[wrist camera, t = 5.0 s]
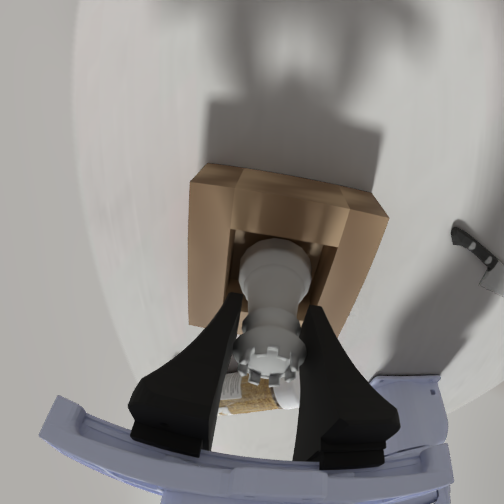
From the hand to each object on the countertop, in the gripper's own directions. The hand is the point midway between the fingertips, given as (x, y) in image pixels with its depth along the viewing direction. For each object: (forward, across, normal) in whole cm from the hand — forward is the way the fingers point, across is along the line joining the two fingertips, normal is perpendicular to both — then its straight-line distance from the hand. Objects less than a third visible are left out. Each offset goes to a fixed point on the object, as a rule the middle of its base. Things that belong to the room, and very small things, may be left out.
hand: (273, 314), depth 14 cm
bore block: (+6, 0, 0) cm, 6 cm away
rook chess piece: (+5, 0, 0) cm, 5 cm away
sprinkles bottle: (+4, +7, +20) cm, 21 cm away
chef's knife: (+7, -21, -1) cm, 22 cm away
